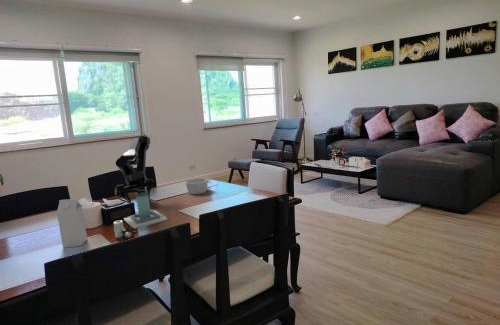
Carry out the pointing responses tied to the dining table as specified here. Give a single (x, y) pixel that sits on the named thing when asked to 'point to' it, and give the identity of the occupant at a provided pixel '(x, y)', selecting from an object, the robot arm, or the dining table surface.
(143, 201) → the cup
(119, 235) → the valve
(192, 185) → the ramekin
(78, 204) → the milk carton
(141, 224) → the dock
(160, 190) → the dining table surface
